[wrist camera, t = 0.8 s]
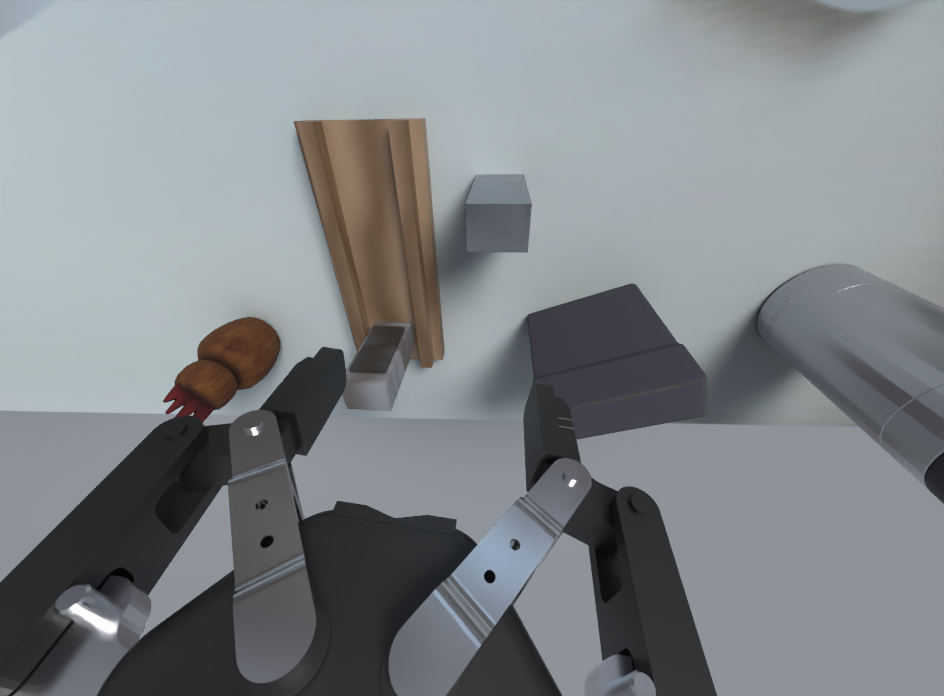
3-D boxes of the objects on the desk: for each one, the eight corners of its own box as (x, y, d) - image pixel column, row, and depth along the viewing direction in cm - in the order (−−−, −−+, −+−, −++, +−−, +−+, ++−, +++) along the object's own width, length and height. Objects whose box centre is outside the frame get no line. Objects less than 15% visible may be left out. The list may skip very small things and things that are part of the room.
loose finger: (523, 174, 28) (531, 203, 20) (520, 216, 30) (527, 258, 22) (476, 174, 28) (465, 203, 20) (476, 216, 30) (466, 257, 22)
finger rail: (425, 118, 26) (382, 127, 17) (444, 351, 40) (426, 427, 31) (303, 120, 27) (198, 130, 18) (362, 349, 41) (321, 422, 31)
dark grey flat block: (536, 340, 38) (551, 451, 26) (525, 309, 36) (535, 415, 24) (638, 312, 35) (709, 423, 23) (633, 276, 33) (710, 378, 21)
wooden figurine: (298, 350, 42) (214, 452, 30) (259, 358, 43) (164, 458, 31) (265, 304, 38) (155, 398, 26) (224, 313, 39) (100, 407, 27)
